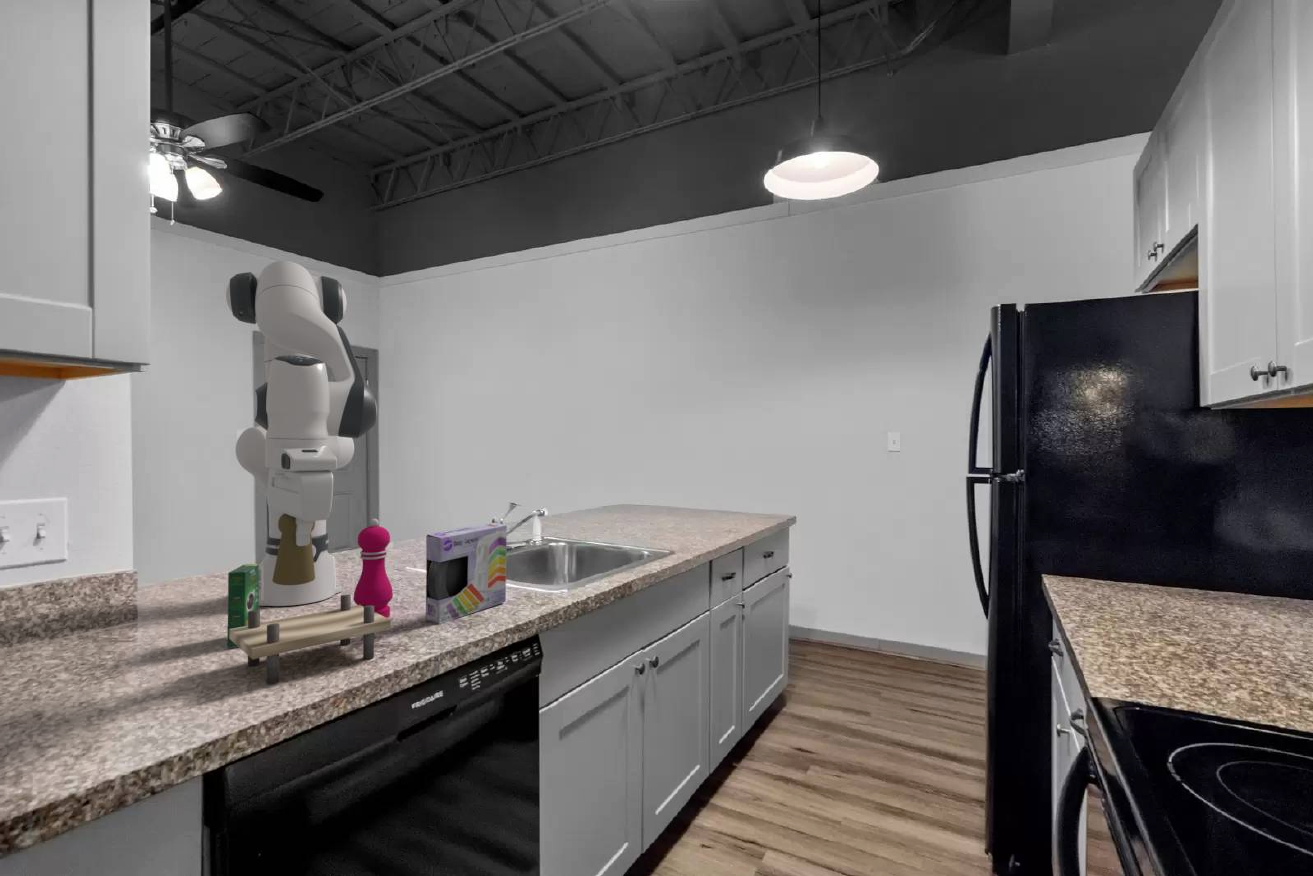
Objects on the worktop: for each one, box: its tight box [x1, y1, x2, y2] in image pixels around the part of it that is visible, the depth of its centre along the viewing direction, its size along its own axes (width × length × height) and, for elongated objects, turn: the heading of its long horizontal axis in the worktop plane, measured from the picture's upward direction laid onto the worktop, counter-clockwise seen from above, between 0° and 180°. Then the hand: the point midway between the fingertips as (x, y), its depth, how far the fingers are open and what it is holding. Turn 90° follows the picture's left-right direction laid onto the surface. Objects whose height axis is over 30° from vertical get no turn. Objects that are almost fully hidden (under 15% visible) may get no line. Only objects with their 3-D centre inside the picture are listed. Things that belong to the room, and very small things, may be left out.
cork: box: [272, 514, 315, 585], centre depth 100 cm, size 6×6×11 cm
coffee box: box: [226, 563, 260, 649], centre depth 111 cm, size 8×3×13 cm, turn 17°
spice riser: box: [229, 593, 392, 685], centre depth 101 cm, size 13×20×8 cm, turn 137°
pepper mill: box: [353, 518, 394, 619], centre depth 125 cm, size 7×7×20 cm
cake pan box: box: [425, 522, 508, 625], centre depth 129 cm, size 19×5×18 cm, turn 148°
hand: (296, 542), depth 99 cm, fingers closed on cork, 4 cm apart
